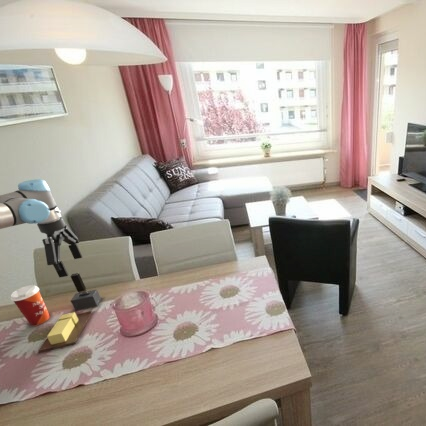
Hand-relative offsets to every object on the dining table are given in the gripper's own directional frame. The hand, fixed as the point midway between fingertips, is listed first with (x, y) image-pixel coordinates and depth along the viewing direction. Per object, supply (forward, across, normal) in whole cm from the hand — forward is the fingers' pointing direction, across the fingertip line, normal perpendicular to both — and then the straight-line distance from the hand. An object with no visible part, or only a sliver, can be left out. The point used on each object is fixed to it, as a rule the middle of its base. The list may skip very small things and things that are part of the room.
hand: (71, 266), depth 119 cm
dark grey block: (+20, 0, 0) cm, 20 cm away
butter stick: (+19, -18, +2) cm, 26 cm away
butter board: (+20, -15, +2) cm, 25 cm away
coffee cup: (+20, -4, +16) cm, 26 cm away
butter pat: (+19, -12, +2) cm, 22 cm away
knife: (+19, 0, 0) cm, 19 cm away
